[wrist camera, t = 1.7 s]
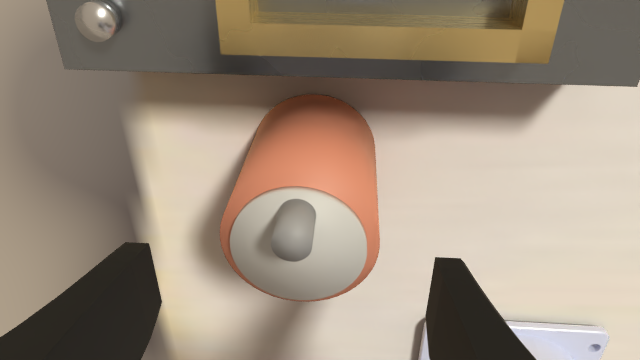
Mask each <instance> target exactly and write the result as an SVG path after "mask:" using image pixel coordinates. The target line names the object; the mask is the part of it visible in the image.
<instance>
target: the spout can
mask: <svg viewBox="0 0 640 360" xmlns="http://www.w3.org/2000/svg"><path fill="white" fill-rule="evenodd" d="M220 241H221V246H222V249H223V252H224V255H225V257H226V259H227V261H228V262H229V264H230V265H231V267H232V268H233V269H234V271H235V272H236V273H237V274H238V275H239V276H240V277H241V278H242V279H244V280H245V281H246V282H247V283H249V284H250V285H252V286H253V287H255V288H256V289H258V290H260V291H262V292H264V293H267V294H269V295H271V296H275V297H278V298H281V299H286V300H292V301H320V300H325V299H330V298H333V297H336V296H339V295H341V294H344V293H346V292H348V291H349V290H351V289H353V288H354V287H356V286H357V285H358V284H360V283H361V282H362V281H363V280H364V279H365V278H366V277H367V276H368V274H369V273H370V272H371V270H372V268H373V267H374V265H375V263H376V260H377V257H378V253H379V247H380V238H379V218H378V198H377V178H376V158H375V144H374V138H373V135H372V132H371V130H370V128H369V125H368V124H367V122H366V121H365V119H364V118H363V117H362V116H361V115H360V114H359V113H358V112H357V111H356V110H355V109H354V108H352V107H351V106H350V105H348V104H347V103H345V102H343V101H341V100H338V99H336V98H333V97H329V96H325V95H316V94H310V95H301V96H296V97H293V98H290V99H287V100H285V101H283V102H281V103H279V104H278V105H276V106H275V107H274V108H273V109H271V110H270V111H269V112H268V113H267V115H266V116H265V117H264V119H263V120H262V121H261V123H260V126H259V128H258V130H257V132H256V135H255V137H254V140H253V142H252V145H251V147H250V150H249V152H248V155H247V157H246V160H245V162H244V165H243V167H242V170H241V172H240V175H239V177H238V180H237V182H236V184H235V187H234V189H233V192H232V194H231V197H230V199H229V202H228V204H227V207H226V209H225V212H224V214H223V217H222V221H221V226H220Z"/></svg>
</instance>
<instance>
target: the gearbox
mask: <svg viewBox="0 0 640 360" xmlns="http://www.w3.org/2000/svg"><path fill="white" fill-rule="evenodd" d="M46 1H47V5H48V9H49V12H50V16H51V20H52V23H53V27H54V31H55V35H56V38H57V42H58V45H59V50H60V53H61V57H62V61H63V64H64V68H65V69H77V70H78V69H79V70H110V71H142V72H175V73H207V74H239V75H272V76H304V77H337V78H369V79H402V80H434V81H467V82H499V83H532V84H564V85H597V86H629V87H637V85H638V83H639V80H640V0H46Z"/></svg>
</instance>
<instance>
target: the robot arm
mask: <svg viewBox="0 0 640 360" xmlns="http://www.w3.org/2000/svg"><path fill="white" fill-rule="evenodd" d="M161 303H162V300H161V296H160V291H159V287H158V282H157V278H156V273H155V269H154V264H153V260H152V255H151V250H150V246H149V243H129V242H125V243H124V244H123V245H122V246H120V247H119V248H118V249H116V250H115V251H114V252H113V253H112V254H110V255H109V256H108V257H106V258H105V259H104V260H103V261H102V262H100V263H99V264H98V265H97V266H95V267H94V268H93V269H92V270H91V271H89V272H88V273H87V274H86V275H84V276H83V277H82V278H81V279H79V280H78V281H77V282H76V283H74V284H73V285H72V286H71V287H70V288H68V289H67V290H66V291H64V292H63V293H62V294H61V295H59V296H58V297H57V298H55V299H54V300H52V301H51V302H50V303H48V304H47V305H46V306H44V307H43V308H42V309H40V310H39V311H38V312H36V313H35V314H33V315H32V316H31V317H29V318H28V319H27V320H25V321H24V322H23V323H21V324H20V325H18V326H17V327H15V328H14V329H12V330H11V331H9V332H8V333H6V334H5V335H3V336H2V337H0V360H141V358H142V356H143V354H144V352H145V349H146V347H147V345H148V343H149V340H150V338H151V335H152V332H153V329H154V326H155V323H156V320H157V317H158V313H159V310H160V307H161ZM608 341H609V335H608V333H607V332H606V330H605V329H604V328H603V327H599V326H586V325H569V324H551V323H534V322H516V321H504V319H503V318H502V317H501V315H500V314H499V313H498V311H497V310H496V309H495V307H494V306H493V305H492V303H491V302H490V300H489V299H488V298H487V296H486V295H485V293H484V292H483V290H482V289H481V288H480V286H479V285H478V283H477V282H476V280H475V279H474V277H473V276H472V274H471V272H470V271H469V269H468V268H467V266H466V265H465V263H464V262H463V261H462V260H461V259H459V258H439V257H435V262H434V268H433V274H432V281H431V287H430V293H429V299H428V305H427V311H426V321H425V323H424V328H423V334H422V340H421V346H420V352H419V358H418V360H600V359H601V357H602V354H603V352H604V350H605V348H606V346H607V343H608ZM592 344H593V345H592Z"/></svg>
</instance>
